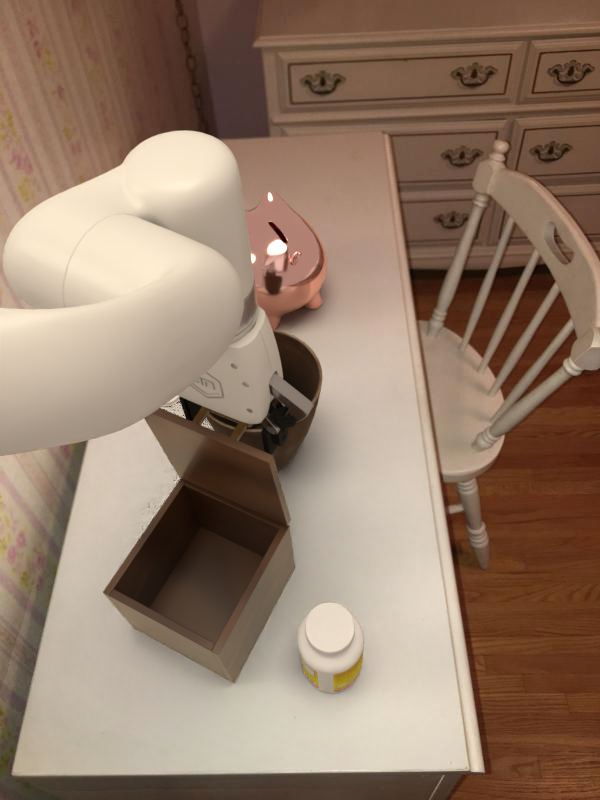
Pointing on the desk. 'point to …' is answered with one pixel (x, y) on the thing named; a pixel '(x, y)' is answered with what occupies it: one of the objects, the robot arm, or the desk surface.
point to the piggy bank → (284, 258)
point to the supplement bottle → (331, 647)
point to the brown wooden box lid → (221, 462)
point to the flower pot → (300, 374)
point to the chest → (204, 577)
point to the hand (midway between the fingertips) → (236, 426)
